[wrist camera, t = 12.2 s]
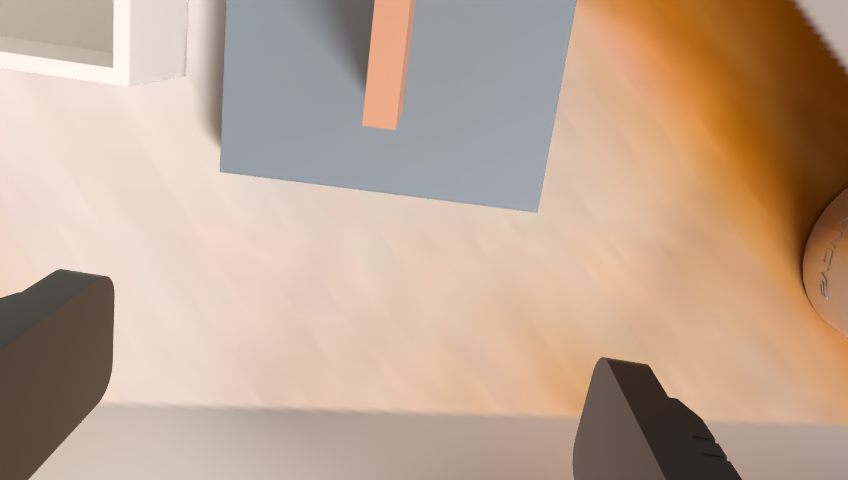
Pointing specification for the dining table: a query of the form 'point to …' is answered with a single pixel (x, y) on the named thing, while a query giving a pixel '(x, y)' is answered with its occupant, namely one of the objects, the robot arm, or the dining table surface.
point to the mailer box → (95, 39)
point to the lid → (396, 95)
